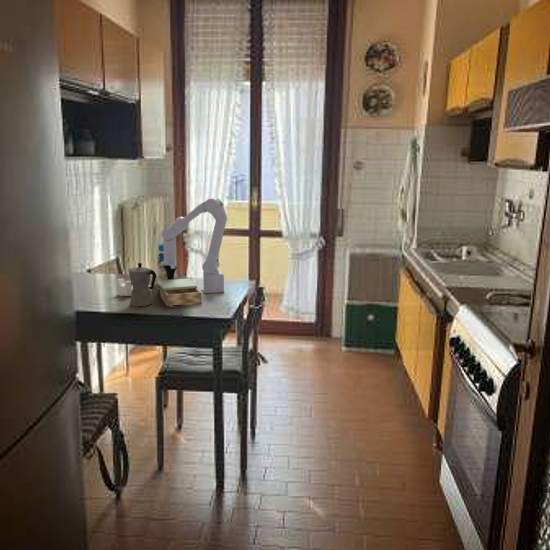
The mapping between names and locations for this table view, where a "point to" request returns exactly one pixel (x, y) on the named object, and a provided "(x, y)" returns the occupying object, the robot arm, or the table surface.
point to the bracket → (125, 288)
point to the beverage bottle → (161, 269)
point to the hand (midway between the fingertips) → (170, 280)
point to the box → (181, 296)
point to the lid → (175, 284)
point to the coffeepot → (141, 285)
